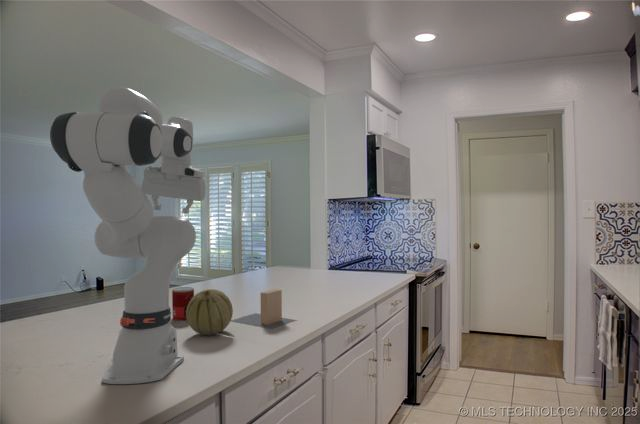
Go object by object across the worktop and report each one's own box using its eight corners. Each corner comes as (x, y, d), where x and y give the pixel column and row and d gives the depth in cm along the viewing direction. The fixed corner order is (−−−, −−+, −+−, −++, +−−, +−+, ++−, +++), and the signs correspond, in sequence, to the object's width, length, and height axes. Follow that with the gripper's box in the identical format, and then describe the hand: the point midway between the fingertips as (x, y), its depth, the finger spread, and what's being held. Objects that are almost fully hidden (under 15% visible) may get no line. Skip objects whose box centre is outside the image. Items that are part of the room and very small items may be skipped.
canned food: (188, 320, 163) (187, 290, 163) (168, 319, 165) (168, 290, 165) (197, 315, 171) (197, 287, 171) (178, 314, 172) (178, 286, 172)
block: (281, 320, 161) (281, 289, 161) (267, 325, 154) (267, 293, 154) (275, 319, 163) (275, 289, 163) (260, 323, 156) (260, 292, 156)
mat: (296, 321, 161) (296, 320, 161) (271, 330, 149) (271, 329, 149) (255, 314, 172) (255, 313, 172) (229, 322, 160) (229, 320, 160)
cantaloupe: (228, 326, 155) (228, 283, 155) (236, 337, 141) (236, 290, 141) (184, 330, 150) (184, 286, 149) (188, 343, 136) (187, 294, 136)
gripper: (140, 164, 141) (135, 208, 141) (202, 172, 139) (197, 216, 140) (149, 165, 147) (145, 207, 148) (209, 173, 145) (204, 215, 146)
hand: (171, 211), depth 144 cm, fingers open, 8 cm apart
